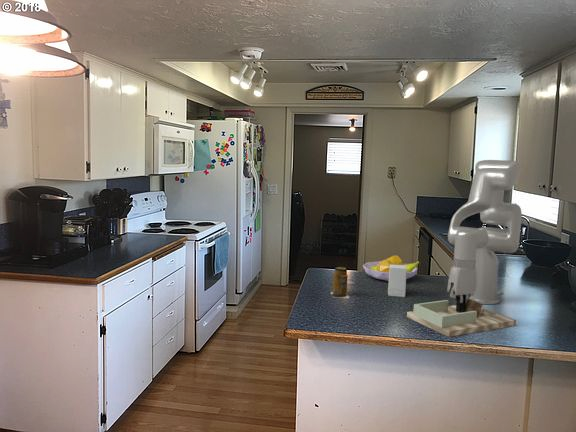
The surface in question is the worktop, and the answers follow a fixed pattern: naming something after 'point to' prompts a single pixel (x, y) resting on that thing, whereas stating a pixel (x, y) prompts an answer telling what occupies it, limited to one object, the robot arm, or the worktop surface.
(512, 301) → the worktop surface
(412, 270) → the fruit bowl
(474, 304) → the walnut block
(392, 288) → the supplement box
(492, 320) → the board
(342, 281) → the condiment
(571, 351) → the worktop surface
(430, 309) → the low bay
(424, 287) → the worktop surface
